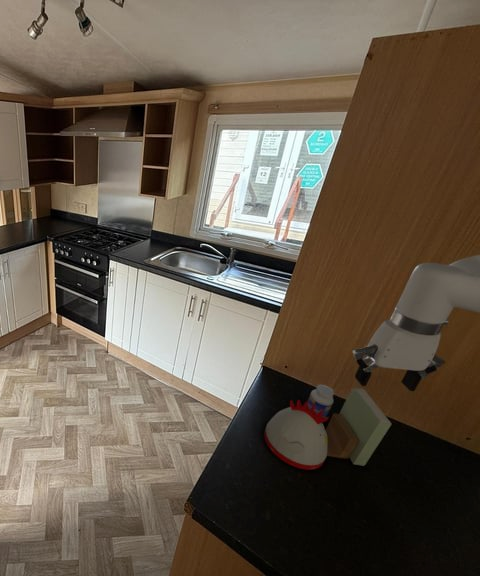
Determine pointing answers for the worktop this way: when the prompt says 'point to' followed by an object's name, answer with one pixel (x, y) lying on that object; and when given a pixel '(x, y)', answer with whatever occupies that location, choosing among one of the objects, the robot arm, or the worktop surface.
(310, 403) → the pill bottle
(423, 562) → the worktop surface
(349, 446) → the bookend
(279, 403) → the worktop surface
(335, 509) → the worktop surface
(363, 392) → the book
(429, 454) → the worktop surface
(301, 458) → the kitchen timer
